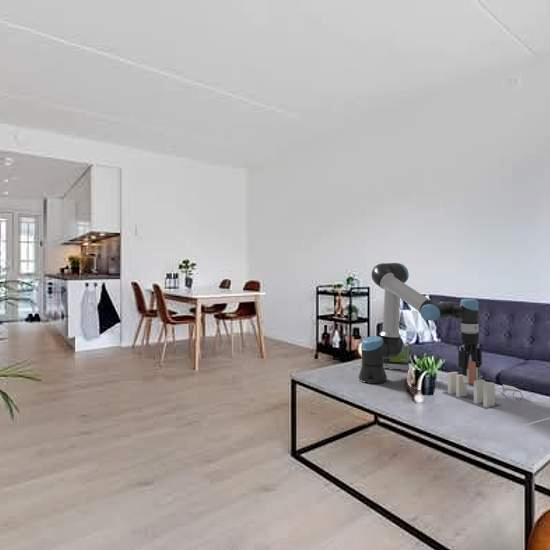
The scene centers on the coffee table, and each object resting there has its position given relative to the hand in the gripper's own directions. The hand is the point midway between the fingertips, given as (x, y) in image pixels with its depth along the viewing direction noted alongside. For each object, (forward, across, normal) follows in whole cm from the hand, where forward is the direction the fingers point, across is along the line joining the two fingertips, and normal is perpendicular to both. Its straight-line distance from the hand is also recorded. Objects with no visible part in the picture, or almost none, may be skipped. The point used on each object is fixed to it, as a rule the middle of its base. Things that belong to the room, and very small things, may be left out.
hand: (470, 381), depth 188 cm
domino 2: (+8, 0, +5) cm, 10 cm away
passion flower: (+9, +19, +16) cm, 26 cm away
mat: (+9, 0, 0) cm, 9 cm away
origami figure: (+9, +19, -7) cm, 22 cm away
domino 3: (+1, 0, 0) cm, 1 cm away
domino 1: (+8, 0, +10) cm, 13 cm away
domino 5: (+8, 0, -10) cm, 13 cm away
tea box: (+9, +7, +60) cm, 61 cm away
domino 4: (+8, 0, -5) cm, 10 cm away
